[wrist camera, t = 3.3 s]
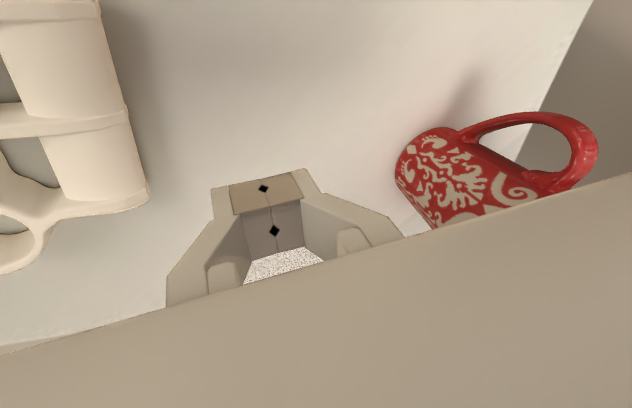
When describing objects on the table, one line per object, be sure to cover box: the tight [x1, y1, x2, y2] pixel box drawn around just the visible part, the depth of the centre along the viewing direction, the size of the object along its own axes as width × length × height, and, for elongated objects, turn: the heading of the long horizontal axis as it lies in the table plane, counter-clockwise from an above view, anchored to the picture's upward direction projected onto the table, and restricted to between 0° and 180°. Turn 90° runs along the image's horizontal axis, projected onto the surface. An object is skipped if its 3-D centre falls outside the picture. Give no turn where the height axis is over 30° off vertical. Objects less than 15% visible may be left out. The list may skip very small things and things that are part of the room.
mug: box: [395, 112, 598, 230], centre depth 26 cm, size 13×9×14 cm
